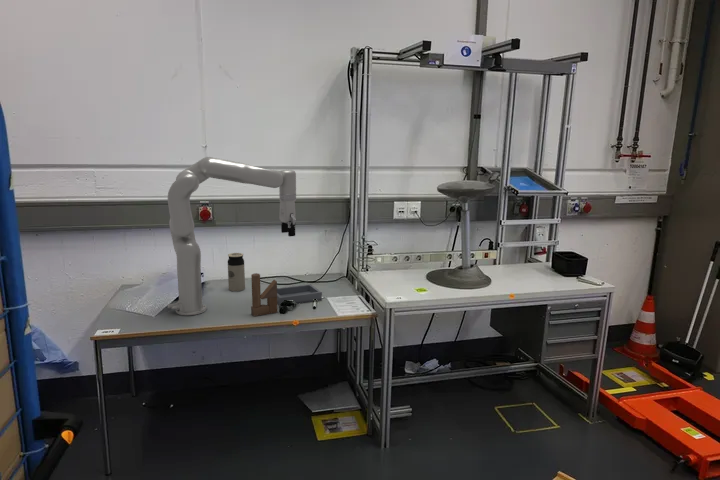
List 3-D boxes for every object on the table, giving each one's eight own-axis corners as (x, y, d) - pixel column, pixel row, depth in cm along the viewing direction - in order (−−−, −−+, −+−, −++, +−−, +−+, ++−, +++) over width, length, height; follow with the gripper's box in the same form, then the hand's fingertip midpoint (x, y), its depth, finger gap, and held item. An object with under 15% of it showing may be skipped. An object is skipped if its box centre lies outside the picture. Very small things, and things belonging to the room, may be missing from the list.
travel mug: (239, 286, 247) (238, 251, 243) (248, 289, 241) (247, 254, 238) (225, 289, 241) (224, 254, 237) (234, 292, 236) (232, 257, 232)
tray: (279, 306, 217) (279, 297, 217) (270, 297, 230) (270, 289, 229) (321, 300, 227) (321, 292, 226) (310, 291, 239) (310, 284, 238)
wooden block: (277, 312, 210) (277, 272, 206) (253, 316, 204) (252, 275, 201) (274, 310, 213) (273, 270, 209) (251, 314, 207) (249, 273, 204)
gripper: (274, 195, 225) (274, 231, 229) (286, 199, 210) (286, 238, 214) (289, 195, 229) (289, 230, 232) (302, 199, 214) (302, 237, 217)
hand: (288, 234), depth 223 cm, fingers open, 9 cm apart
